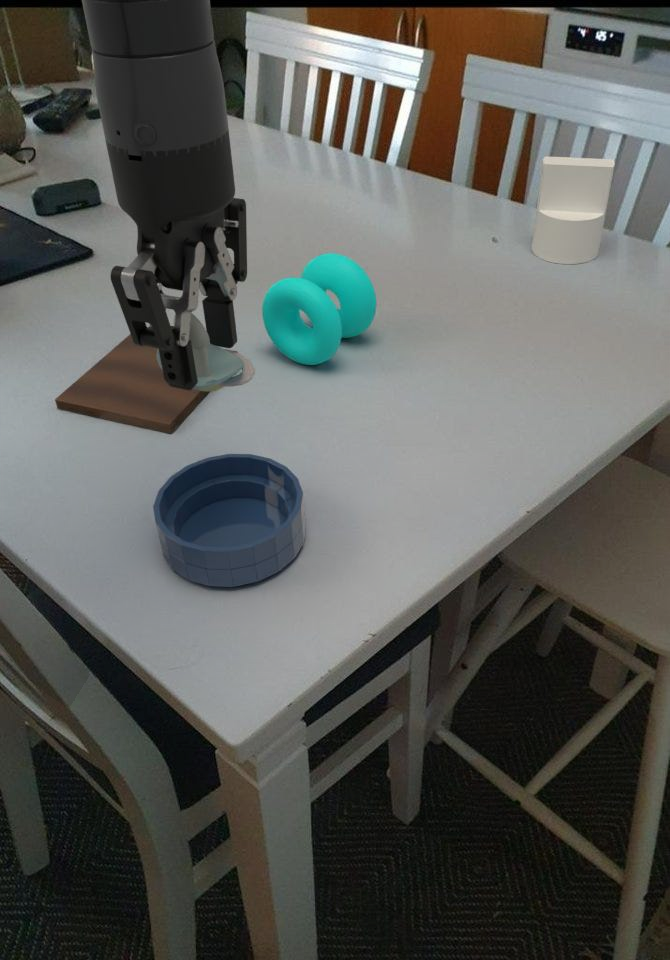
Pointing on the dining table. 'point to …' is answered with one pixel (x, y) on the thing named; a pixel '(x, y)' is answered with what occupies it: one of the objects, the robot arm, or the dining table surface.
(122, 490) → the dining table surface
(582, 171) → the cylinder with rectangular tab
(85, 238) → the dining table surface
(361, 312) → the donuts
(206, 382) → the pacifier
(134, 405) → the board
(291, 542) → the bowl
